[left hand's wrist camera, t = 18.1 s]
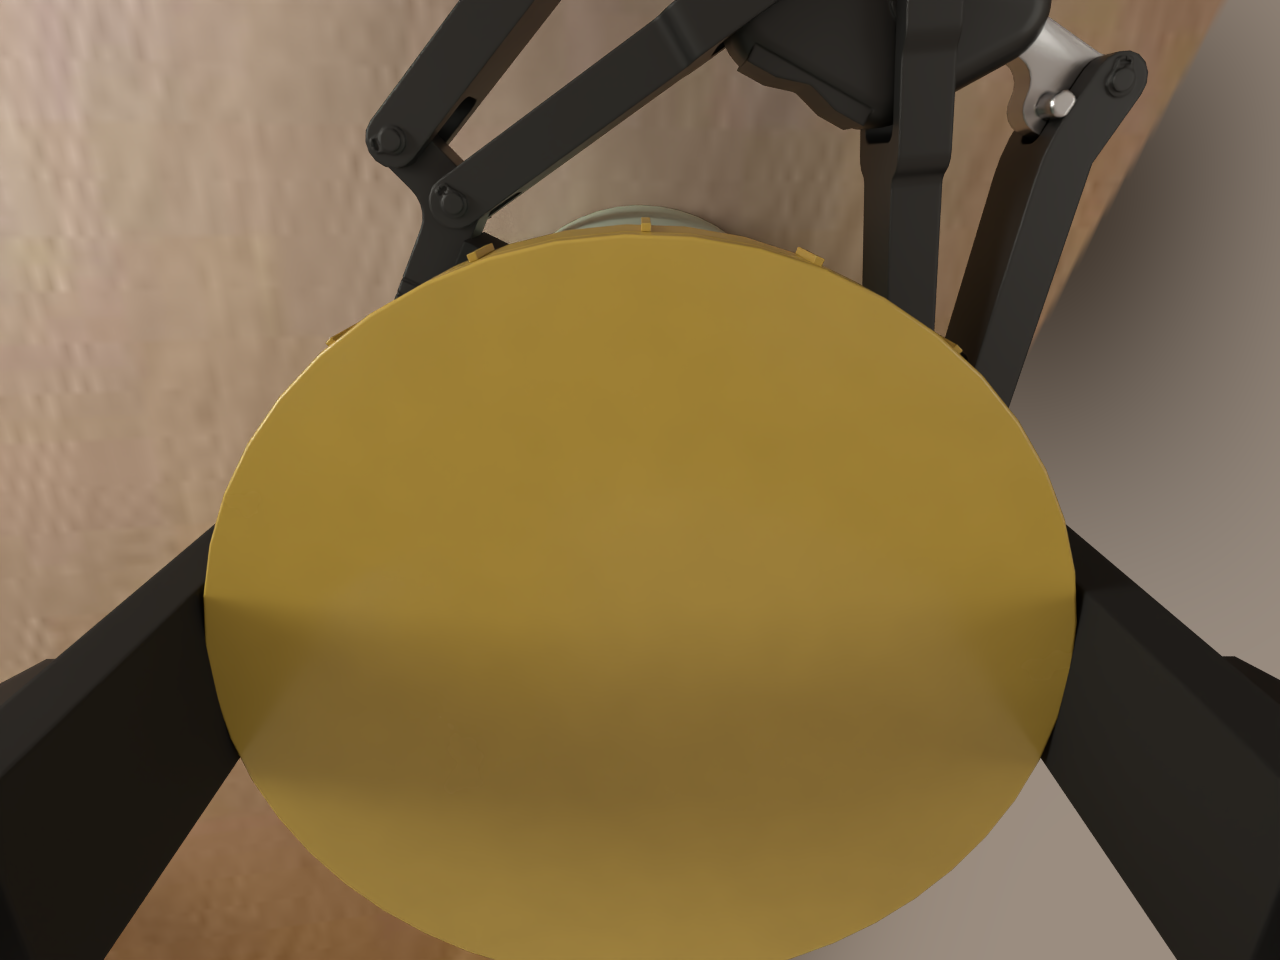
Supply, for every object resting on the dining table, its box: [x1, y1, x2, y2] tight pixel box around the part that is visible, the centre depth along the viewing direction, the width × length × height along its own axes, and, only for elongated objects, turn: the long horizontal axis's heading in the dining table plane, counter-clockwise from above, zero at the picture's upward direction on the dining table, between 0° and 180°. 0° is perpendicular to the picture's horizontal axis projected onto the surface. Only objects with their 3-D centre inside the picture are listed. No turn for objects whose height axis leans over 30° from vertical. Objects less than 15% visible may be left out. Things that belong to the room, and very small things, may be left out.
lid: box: [204, 217, 1077, 960], centre depth 11 cm, size 11×11×2 cm
